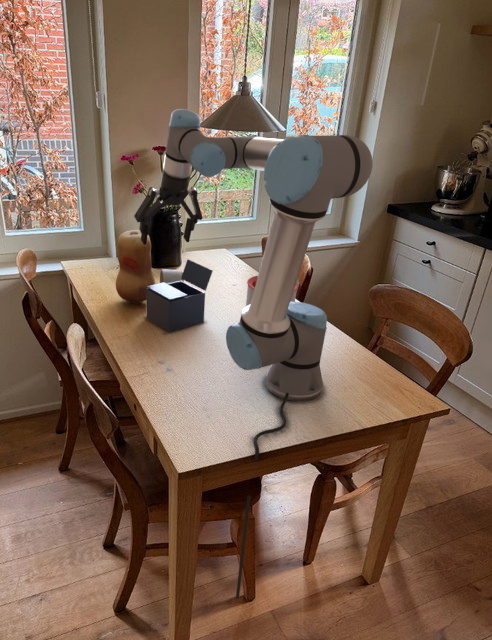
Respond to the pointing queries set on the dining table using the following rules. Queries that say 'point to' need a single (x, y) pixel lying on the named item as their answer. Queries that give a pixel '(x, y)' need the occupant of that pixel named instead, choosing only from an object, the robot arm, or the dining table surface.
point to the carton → (175, 305)
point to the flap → (196, 274)
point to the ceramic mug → (170, 276)
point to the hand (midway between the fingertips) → (165, 241)
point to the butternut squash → (134, 267)
